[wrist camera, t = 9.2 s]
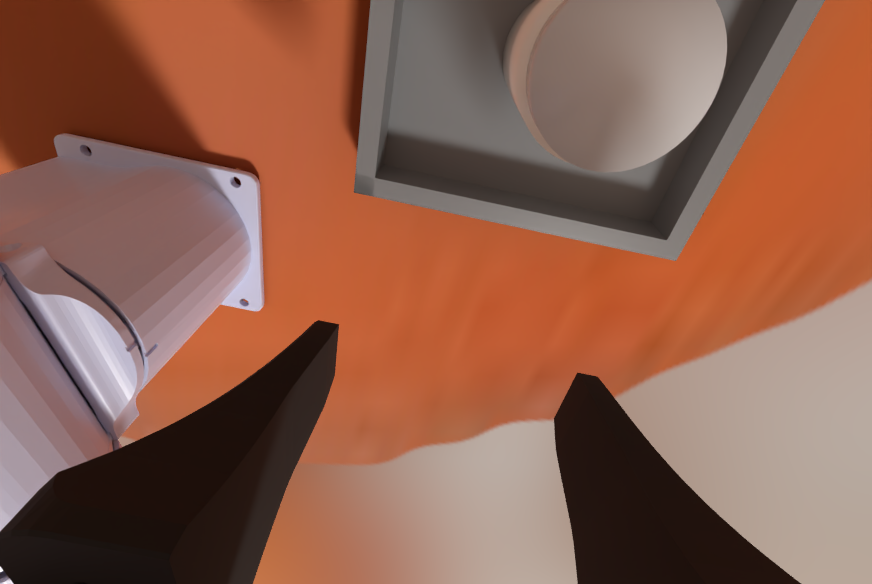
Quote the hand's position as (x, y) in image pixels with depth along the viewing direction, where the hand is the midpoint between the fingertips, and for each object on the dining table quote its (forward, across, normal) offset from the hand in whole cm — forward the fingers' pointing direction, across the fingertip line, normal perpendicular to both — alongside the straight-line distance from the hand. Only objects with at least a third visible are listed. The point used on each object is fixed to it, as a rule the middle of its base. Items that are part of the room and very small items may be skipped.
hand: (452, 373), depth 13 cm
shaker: (+9, -2, -8) cm, 13 cm away
